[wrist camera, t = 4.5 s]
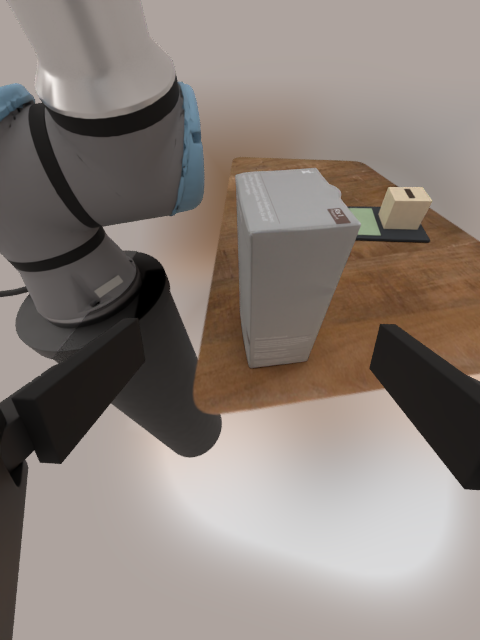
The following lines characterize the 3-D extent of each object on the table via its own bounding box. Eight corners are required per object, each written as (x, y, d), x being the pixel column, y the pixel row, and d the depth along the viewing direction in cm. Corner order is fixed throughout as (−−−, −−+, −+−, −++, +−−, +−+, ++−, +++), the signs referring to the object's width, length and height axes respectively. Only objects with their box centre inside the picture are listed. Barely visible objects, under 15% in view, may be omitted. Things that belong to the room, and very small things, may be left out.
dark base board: (283, 237, 40) (285, 208, 36) (287, 207, 47) (289, 180, 43) (428, 242, 36) (448, 210, 32) (410, 209, 43) (424, 179, 39)
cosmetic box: (239, 313, 30) (223, 171, 18) (295, 305, 30) (317, 160, 18) (248, 374, 24) (233, 229, 12) (317, 364, 24) (370, 211, 12)
